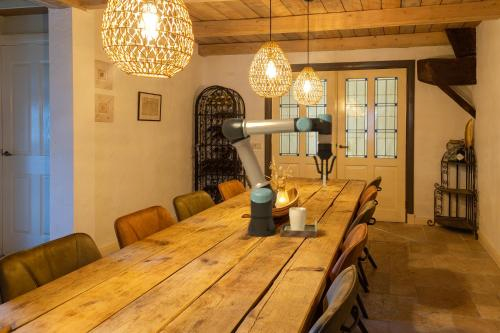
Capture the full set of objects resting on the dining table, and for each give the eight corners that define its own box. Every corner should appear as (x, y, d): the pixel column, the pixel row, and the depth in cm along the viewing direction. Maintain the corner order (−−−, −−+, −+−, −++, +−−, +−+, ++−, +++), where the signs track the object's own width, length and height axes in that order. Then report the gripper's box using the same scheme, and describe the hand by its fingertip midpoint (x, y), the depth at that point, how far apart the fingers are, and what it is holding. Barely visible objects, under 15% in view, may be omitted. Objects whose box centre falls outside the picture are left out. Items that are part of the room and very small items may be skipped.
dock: (280, 236, 232) (280, 230, 232) (282, 229, 248) (282, 223, 247) (315, 237, 229) (315, 231, 229) (315, 230, 245) (315, 224, 245)
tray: (283, 234, 233) (283, 223, 233) (285, 229, 246) (285, 218, 245) (316, 236, 231) (317, 224, 230) (316, 230, 243) (317, 219, 243)
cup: (305, 233, 233) (305, 210, 232) (288, 232, 235) (288, 209, 234) (306, 229, 242) (307, 207, 241) (290, 228, 244) (290, 206, 243)
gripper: (312, 143, 240) (312, 186, 242) (337, 143, 238) (336, 187, 240) (312, 142, 247) (312, 185, 249) (336, 142, 245) (336, 185, 247)
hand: (324, 186), depth 244 cm, fingers closed
